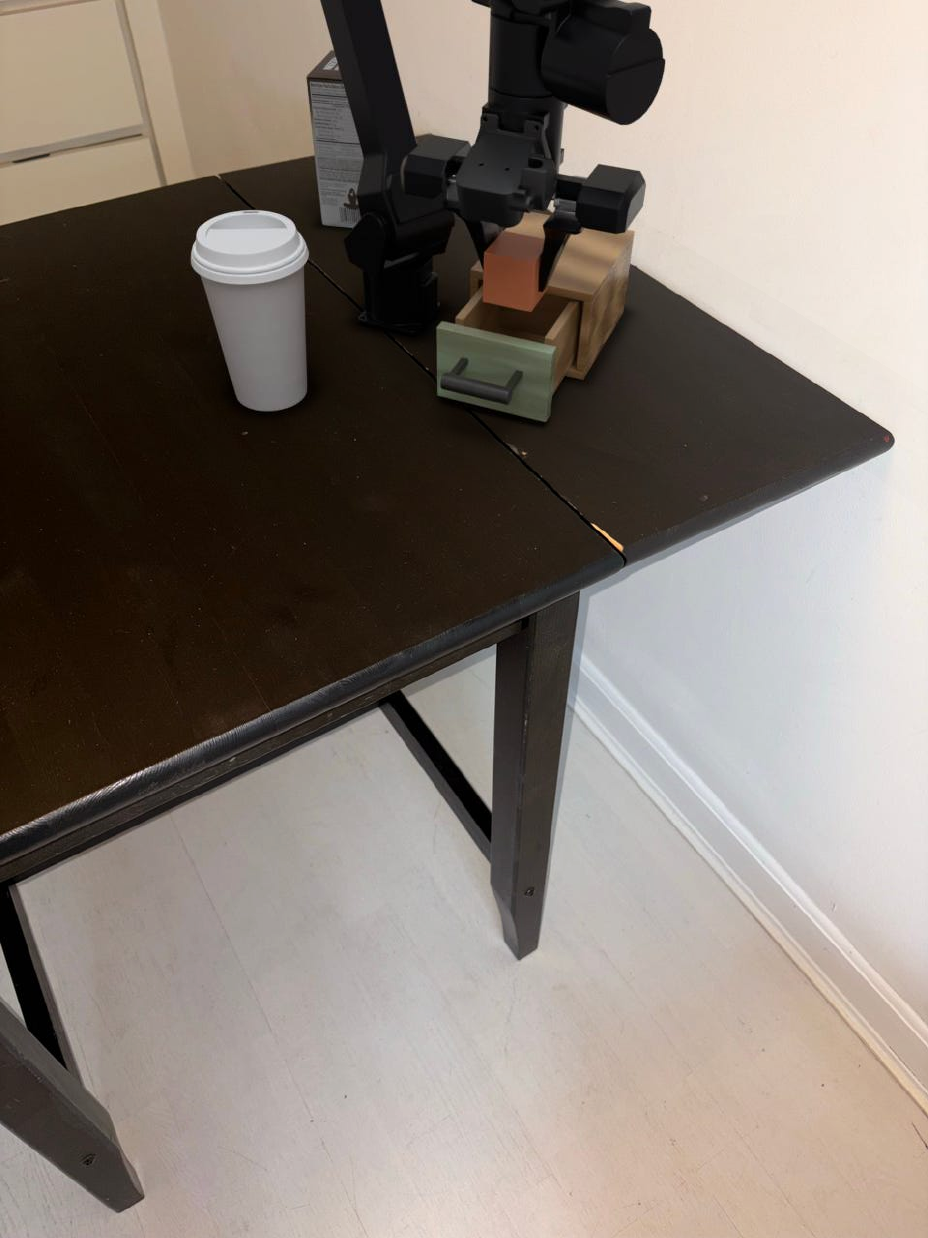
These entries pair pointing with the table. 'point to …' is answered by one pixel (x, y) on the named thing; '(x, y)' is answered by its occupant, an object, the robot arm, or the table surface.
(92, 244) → the table surface
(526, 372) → the drawer
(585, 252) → the cabinet
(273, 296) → the coffee cup
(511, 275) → the block
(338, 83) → the coffee box
